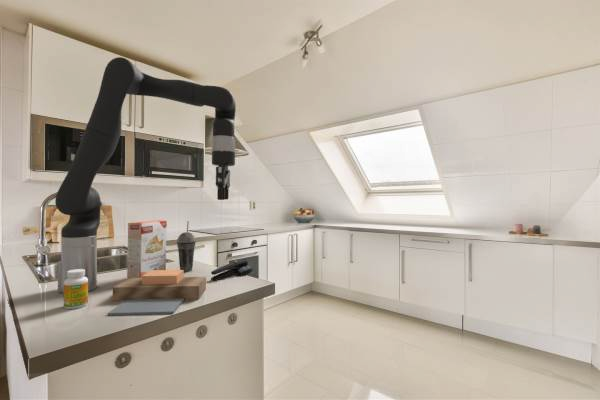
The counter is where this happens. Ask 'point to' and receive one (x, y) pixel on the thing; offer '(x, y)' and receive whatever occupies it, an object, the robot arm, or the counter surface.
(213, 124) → the robot arm
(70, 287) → the supplement bottle
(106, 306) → the counter surface
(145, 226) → the cracker box
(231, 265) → the can opener
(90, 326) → the counter surface
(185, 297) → the panel
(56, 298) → the counter surface
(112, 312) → the slate mat
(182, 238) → the beverage cup
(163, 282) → the terracotta tile
